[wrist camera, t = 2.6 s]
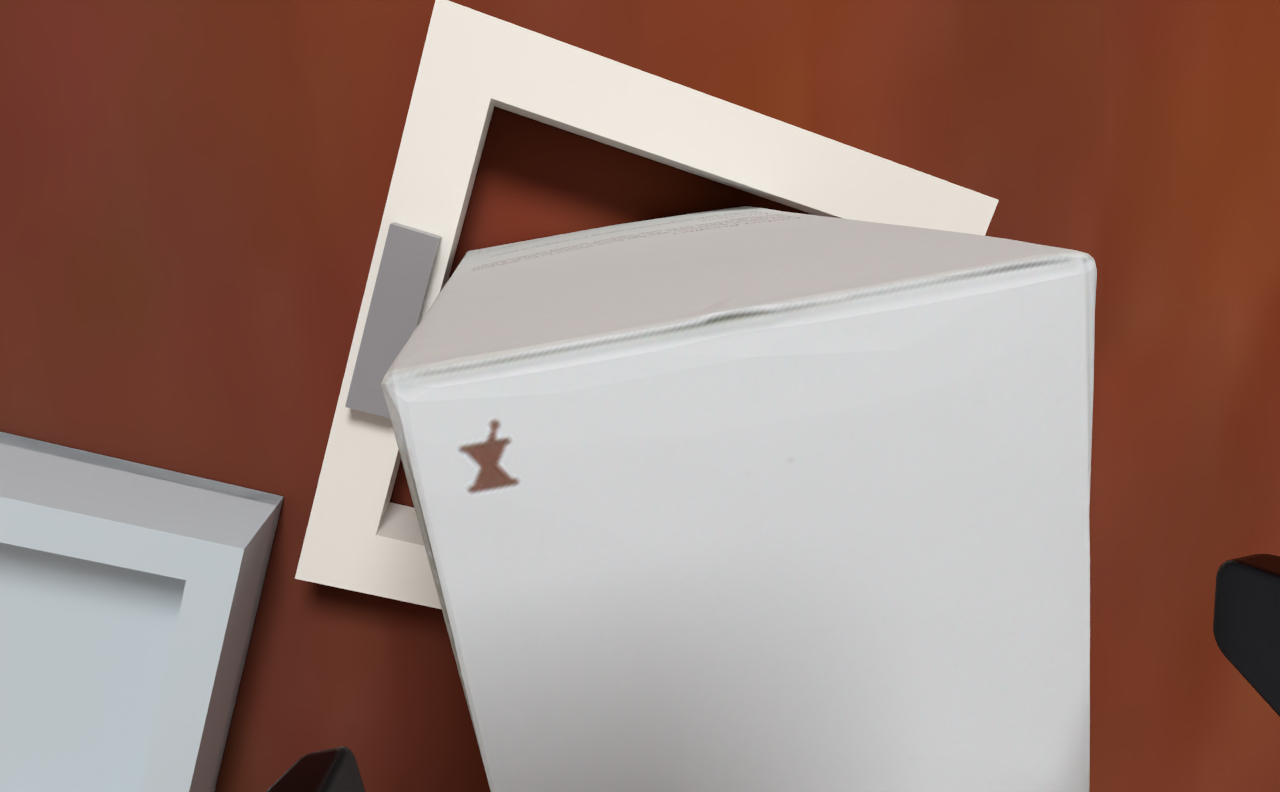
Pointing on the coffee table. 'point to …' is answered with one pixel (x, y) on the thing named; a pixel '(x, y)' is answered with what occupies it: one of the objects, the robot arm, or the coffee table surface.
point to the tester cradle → (435, 211)
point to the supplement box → (761, 505)
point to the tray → (121, 619)
